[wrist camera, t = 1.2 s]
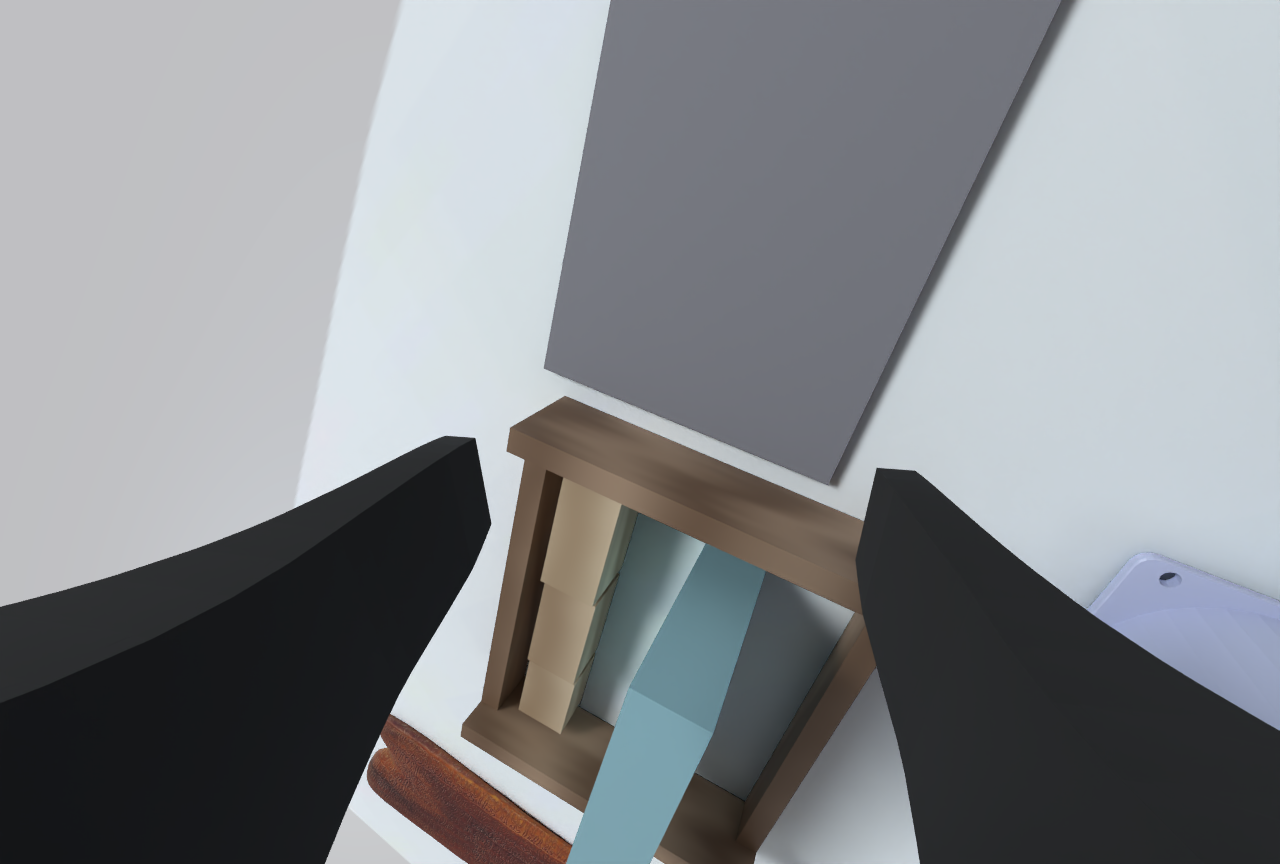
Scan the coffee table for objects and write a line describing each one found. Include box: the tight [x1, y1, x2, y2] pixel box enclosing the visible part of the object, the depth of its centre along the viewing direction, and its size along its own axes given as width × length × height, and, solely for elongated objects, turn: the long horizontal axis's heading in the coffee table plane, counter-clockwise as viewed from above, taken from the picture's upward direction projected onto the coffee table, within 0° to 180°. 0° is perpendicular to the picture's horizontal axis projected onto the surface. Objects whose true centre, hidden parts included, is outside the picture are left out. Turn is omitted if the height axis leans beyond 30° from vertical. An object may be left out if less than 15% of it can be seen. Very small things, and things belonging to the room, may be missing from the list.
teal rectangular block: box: [566, 543, 766, 864], centre depth 22 cm, size 2×12×9 cm, turn 164°
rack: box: [461, 396, 876, 864], centre depth 24 cm, size 15×18×4 cm
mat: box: [544, 0, 1061, 485], centre depth 18 cm, size 12×16×1 cm
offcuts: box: [518, 477, 638, 734], centre depth 25 cm, size 2×15×3 cm, turn 164°
